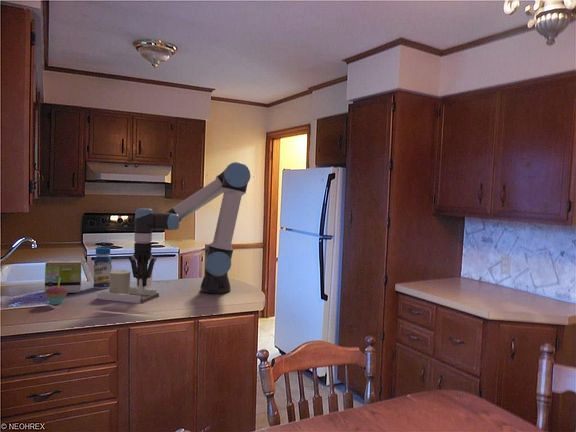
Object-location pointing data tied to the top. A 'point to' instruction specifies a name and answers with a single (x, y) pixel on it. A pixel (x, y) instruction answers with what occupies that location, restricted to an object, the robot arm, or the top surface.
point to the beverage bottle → (102, 268)
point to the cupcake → (56, 294)
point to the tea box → (63, 274)
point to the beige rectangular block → (120, 282)
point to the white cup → (149, 282)
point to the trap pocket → (149, 297)
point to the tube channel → (125, 295)
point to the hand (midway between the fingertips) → (141, 293)
